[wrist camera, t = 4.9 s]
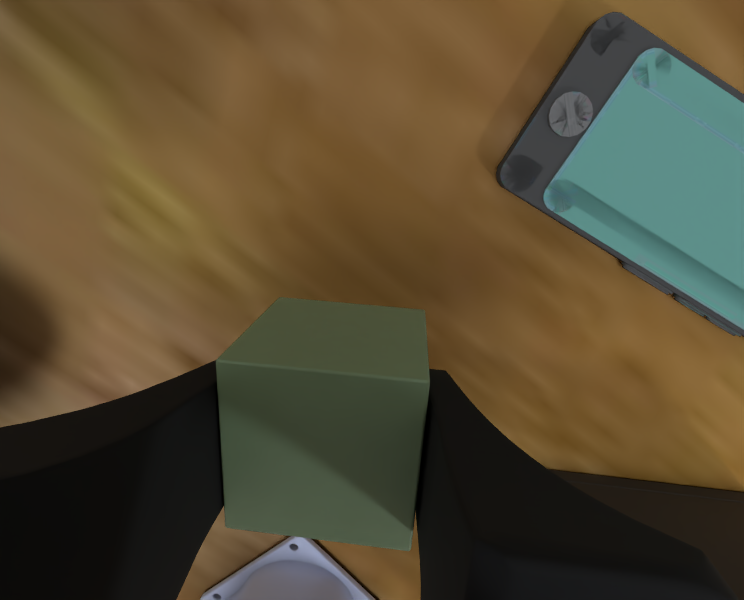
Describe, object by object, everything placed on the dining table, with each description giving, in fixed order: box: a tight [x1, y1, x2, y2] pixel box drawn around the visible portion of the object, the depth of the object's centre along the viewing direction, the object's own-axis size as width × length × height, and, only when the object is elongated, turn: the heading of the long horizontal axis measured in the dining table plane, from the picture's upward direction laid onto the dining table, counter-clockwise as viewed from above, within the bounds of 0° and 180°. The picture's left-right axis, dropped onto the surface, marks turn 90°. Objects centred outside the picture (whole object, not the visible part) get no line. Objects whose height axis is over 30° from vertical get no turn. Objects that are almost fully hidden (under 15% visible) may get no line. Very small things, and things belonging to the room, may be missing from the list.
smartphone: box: [496, 12, 744, 337], centre depth 18 cm, size 7×1×15 cm
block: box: [216, 297, 430, 551], centre depth 10 cm, size 4×4×4 cm
